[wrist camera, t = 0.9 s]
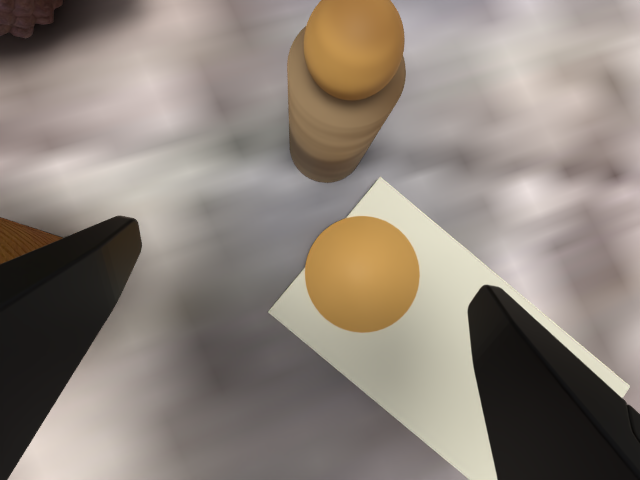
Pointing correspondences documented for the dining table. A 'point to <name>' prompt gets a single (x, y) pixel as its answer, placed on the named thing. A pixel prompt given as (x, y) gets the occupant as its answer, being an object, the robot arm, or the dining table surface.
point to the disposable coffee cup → (21, 239)
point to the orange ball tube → (343, 84)
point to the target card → (406, 322)
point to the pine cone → (25, 15)
